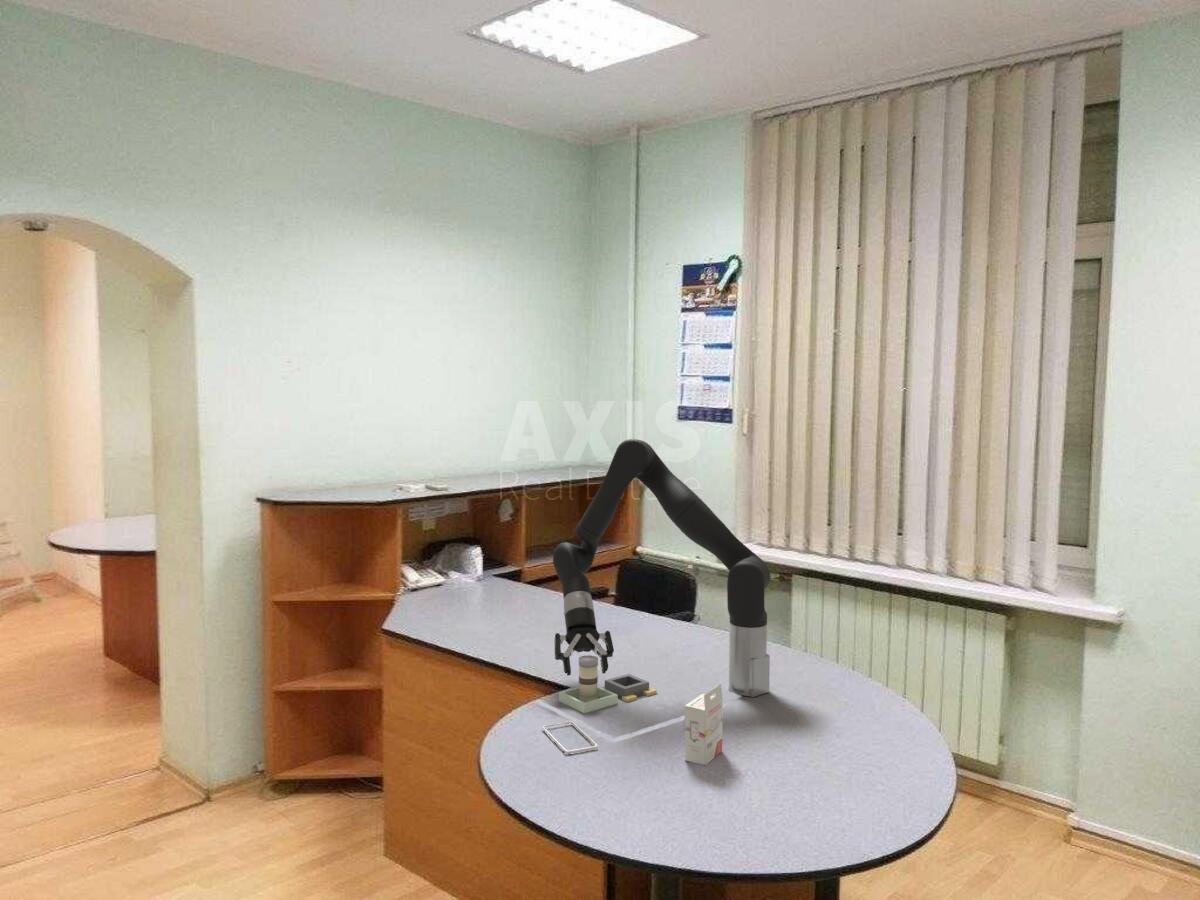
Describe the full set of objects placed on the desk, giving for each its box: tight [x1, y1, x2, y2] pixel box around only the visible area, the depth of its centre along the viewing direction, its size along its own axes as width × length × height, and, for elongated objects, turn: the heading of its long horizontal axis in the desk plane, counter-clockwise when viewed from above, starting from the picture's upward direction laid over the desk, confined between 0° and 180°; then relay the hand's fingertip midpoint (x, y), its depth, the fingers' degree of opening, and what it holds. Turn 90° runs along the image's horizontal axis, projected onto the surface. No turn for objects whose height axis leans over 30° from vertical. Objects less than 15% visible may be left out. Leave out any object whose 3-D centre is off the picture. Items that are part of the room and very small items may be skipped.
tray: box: [558, 685, 619, 714], centre depth 213 cm, size 10×10×3 cm
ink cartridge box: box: [684, 683, 724, 766], centre depth 185 cm, size 9×5×15 cm, turn 148°
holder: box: [600, 673, 659, 704], centre depth 221 cm, size 12×10×4 cm
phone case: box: [542, 720, 598, 754], centre depth 194 cm, size 7×1×15 cm
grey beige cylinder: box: [578, 654, 599, 702], centre depth 213 cm, size 5×5×11 cm
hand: (586, 673), depth 214 cm, fingers open, 8 cm apart
